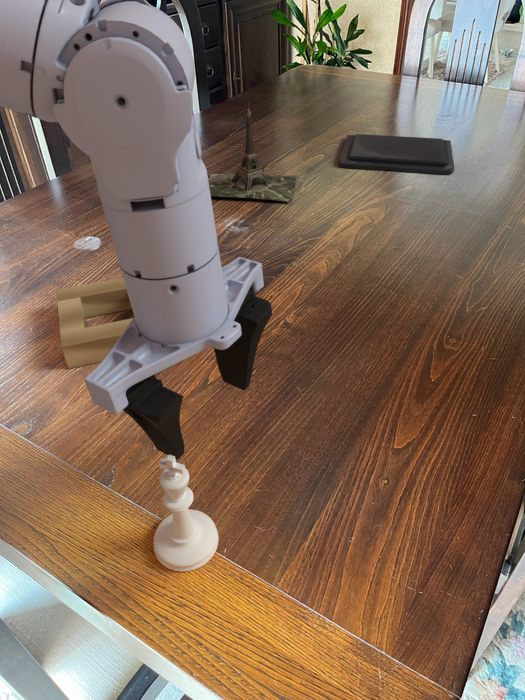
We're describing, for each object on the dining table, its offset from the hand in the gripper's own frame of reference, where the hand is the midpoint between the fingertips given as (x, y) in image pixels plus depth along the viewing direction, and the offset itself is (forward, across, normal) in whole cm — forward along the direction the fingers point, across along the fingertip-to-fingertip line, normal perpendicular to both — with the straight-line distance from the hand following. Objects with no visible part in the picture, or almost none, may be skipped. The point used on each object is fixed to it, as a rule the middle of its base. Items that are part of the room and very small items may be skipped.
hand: (205, 415), depth 40 cm
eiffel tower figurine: (+9, +49, +33) cm, 60 cm away
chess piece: (+9, -5, -1) cm, 10 cm away
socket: (+8, +10, +24) cm, 27 cm away
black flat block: (+11, +75, +19) cm, 78 cm away
